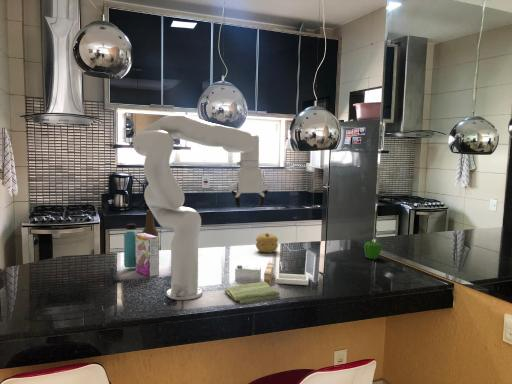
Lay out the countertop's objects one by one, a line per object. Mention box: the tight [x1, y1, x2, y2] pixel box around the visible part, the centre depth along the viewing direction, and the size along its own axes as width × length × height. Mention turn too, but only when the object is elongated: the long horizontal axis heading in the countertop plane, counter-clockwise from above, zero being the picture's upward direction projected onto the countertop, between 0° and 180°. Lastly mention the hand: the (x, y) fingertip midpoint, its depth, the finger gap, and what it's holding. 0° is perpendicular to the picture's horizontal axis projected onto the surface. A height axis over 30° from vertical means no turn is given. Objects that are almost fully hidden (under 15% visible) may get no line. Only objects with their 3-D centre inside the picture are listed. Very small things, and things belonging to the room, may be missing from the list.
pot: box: [255, 232, 279, 254], centre depth 213 cm, size 12×12×10 cm
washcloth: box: [224, 280, 281, 304], centre depth 145 cm, size 13×18×3 cm
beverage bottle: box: [123, 223, 140, 269], centre depth 174 cm, size 6×7×20 cm
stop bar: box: [234, 264, 262, 283], centre depth 164 cm, size 4×10×6 cm, turn 83°
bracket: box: [275, 273, 309, 286], centre depth 163 cm, size 8×13×2 cm, turn 83°
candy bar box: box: [135, 232, 160, 278], centre depth 168 cm, size 11×5×16 cm, turn 47°
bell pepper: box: [363, 239, 382, 260], centre depth 203 cm, size 8×8×10 cm
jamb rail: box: [263, 262, 275, 286], centre depth 164 cm, size 16×2×5 cm, turn 173°
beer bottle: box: [141, 209, 159, 237], centre depth 189 cm, size 8×8×24 cm
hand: (249, 206), depth 165 cm, fingers open, 9 cm apart
